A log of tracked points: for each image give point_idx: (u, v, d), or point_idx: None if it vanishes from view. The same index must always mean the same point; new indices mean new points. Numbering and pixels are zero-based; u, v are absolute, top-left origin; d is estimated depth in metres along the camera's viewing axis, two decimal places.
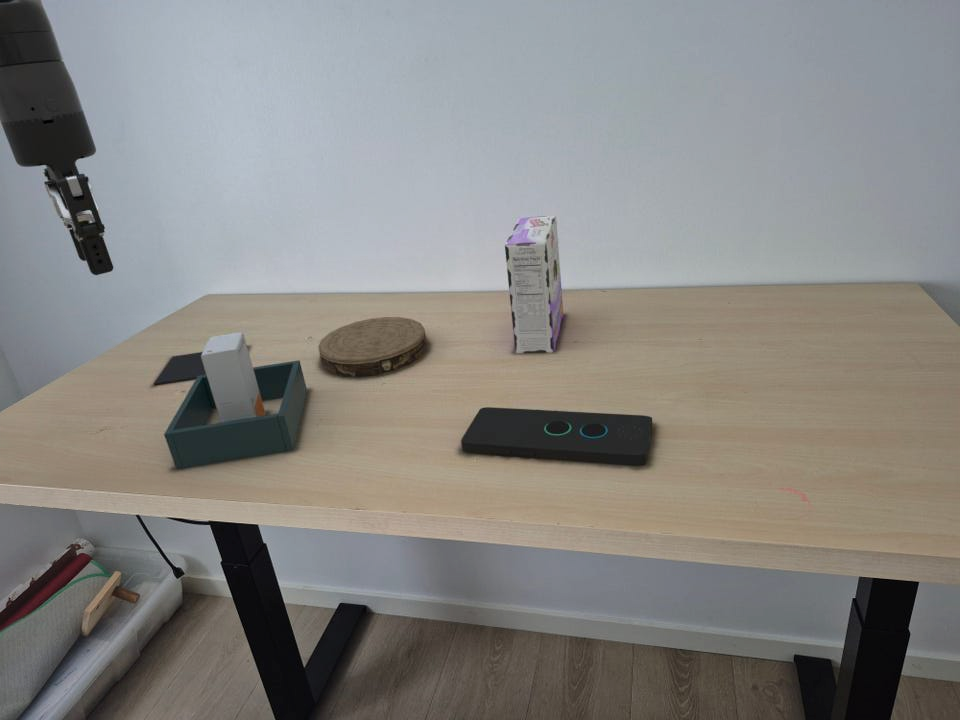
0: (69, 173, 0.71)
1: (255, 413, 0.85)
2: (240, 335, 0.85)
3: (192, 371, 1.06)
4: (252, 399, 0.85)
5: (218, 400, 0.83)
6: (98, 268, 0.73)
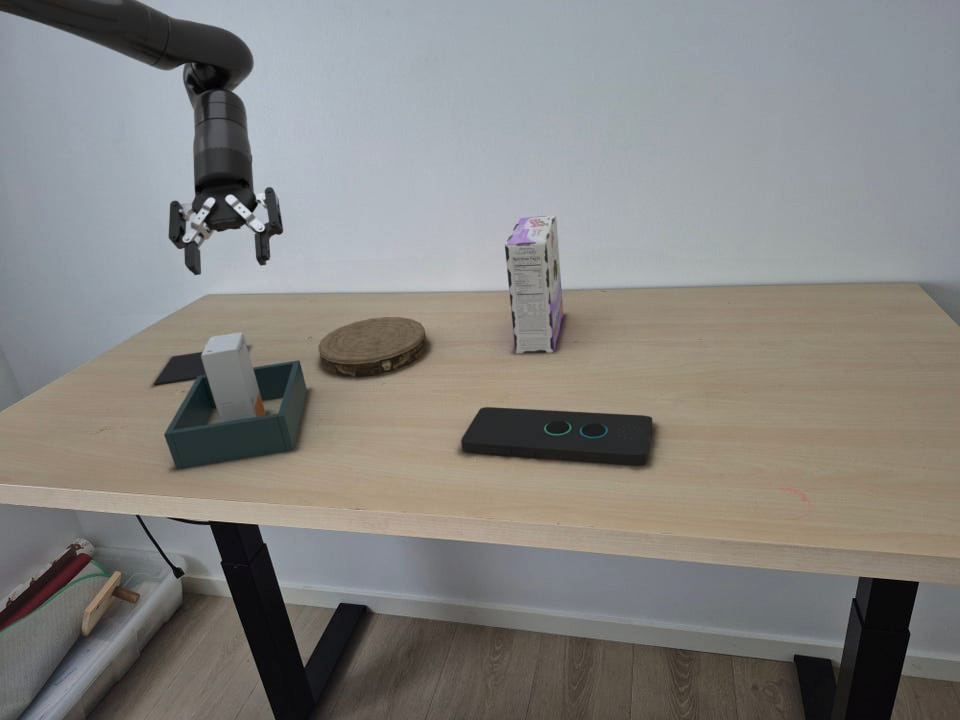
0: None
1: (255, 413, 0.85)
2: (240, 335, 0.85)
3: (192, 371, 1.06)
4: (252, 399, 0.85)
5: (218, 400, 0.83)
6: (267, 255, 0.90)
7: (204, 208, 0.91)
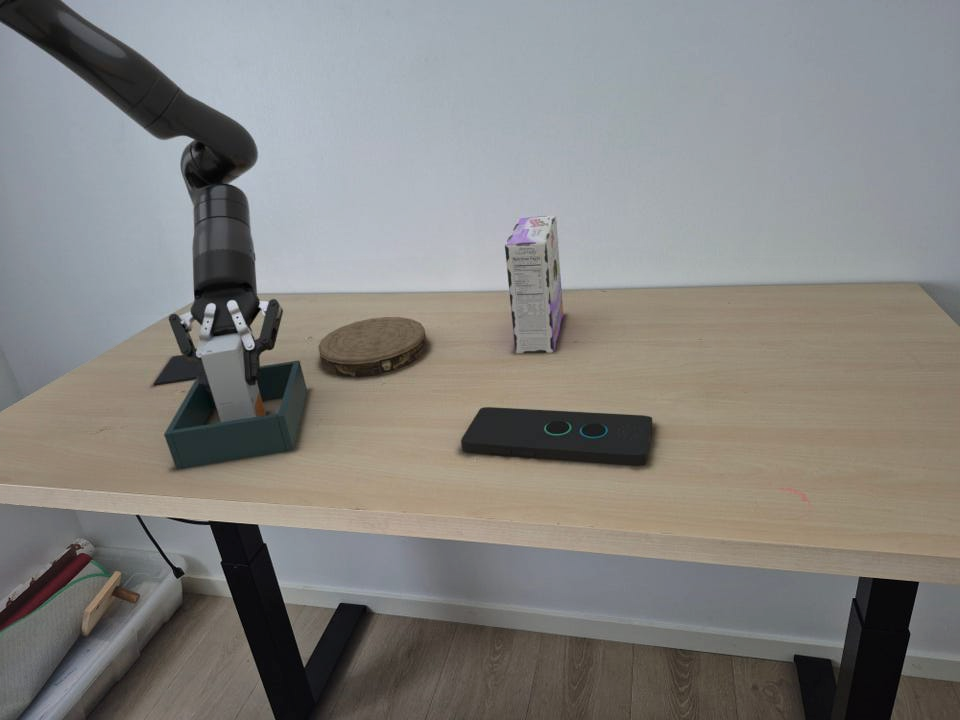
0: None
1: (255, 413, 0.85)
2: (239, 335, 0.85)
3: (192, 371, 1.06)
4: (252, 399, 0.85)
5: (218, 400, 0.83)
6: (256, 375, 0.84)
7: (204, 315, 0.85)
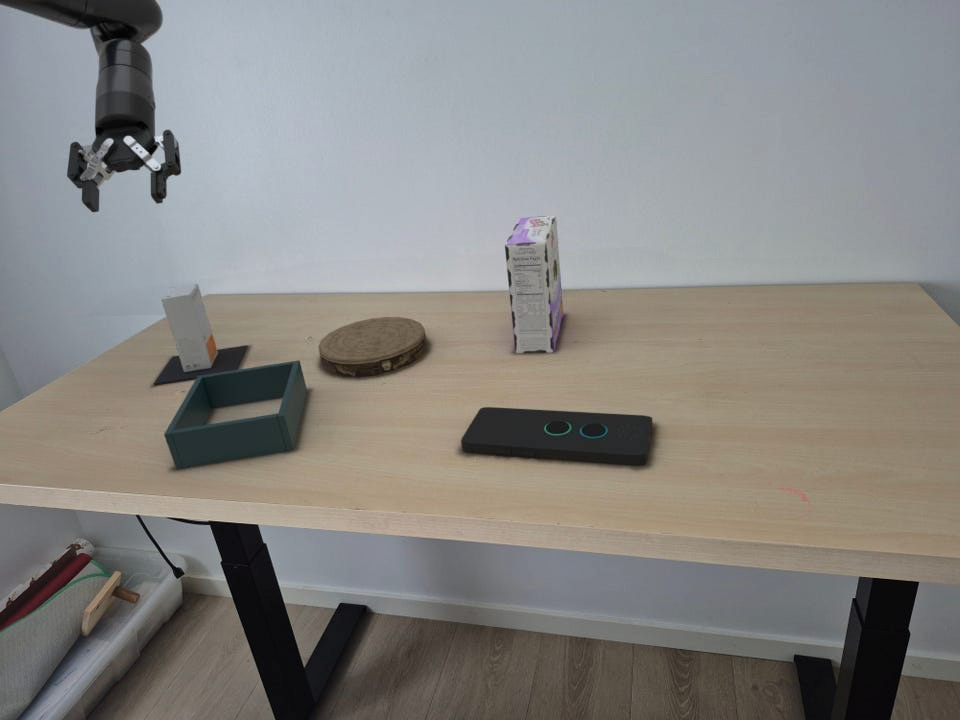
0: None
1: (207, 348, 1.05)
2: (194, 285, 1.05)
3: (192, 371, 1.06)
4: (204, 337, 1.05)
5: (176, 336, 1.03)
6: (162, 193, 0.94)
7: (102, 148, 0.94)
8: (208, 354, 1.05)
